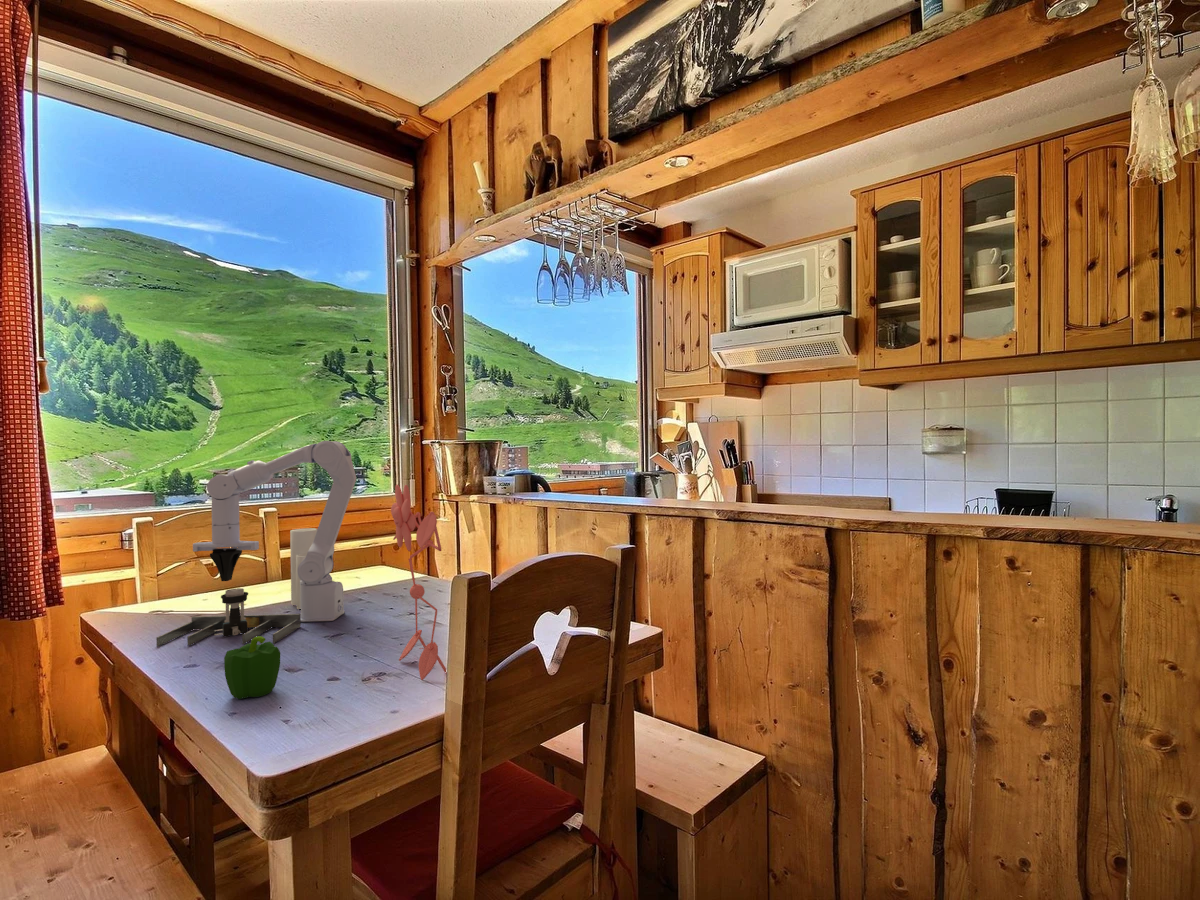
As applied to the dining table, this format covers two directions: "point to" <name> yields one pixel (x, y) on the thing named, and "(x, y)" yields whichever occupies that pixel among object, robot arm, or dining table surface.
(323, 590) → the robot arm
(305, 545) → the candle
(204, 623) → the rack
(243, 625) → the push button
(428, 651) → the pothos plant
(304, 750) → the dining table surface
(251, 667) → the bell pepper
